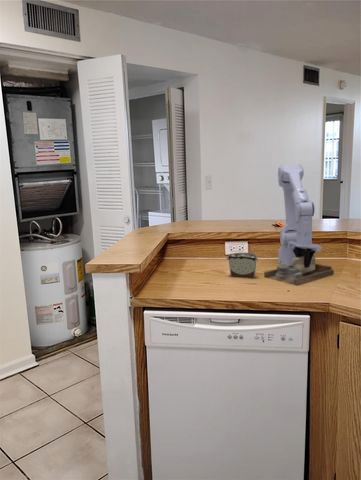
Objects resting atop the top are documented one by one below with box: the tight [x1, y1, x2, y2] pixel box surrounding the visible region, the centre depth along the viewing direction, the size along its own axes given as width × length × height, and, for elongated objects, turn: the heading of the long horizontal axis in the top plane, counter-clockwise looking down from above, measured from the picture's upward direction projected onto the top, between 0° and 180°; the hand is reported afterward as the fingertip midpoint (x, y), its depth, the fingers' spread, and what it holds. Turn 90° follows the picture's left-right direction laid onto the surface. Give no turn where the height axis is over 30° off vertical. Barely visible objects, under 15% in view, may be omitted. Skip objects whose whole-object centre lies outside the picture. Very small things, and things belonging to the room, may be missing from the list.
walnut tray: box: [263, 263, 335, 287], centre depth 162 cm, size 16×22×4 cm
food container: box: [226, 252, 259, 280], centre depth 165 cm, size 12×6×10 cm, turn 65°
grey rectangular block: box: [292, 254, 316, 273], centre depth 163 cm, size 2×11×6 cm, turn 125°
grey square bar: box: [275, 265, 302, 282], centre depth 159 cm, size 10×4×4 cm, turn 35°
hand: (303, 266), depth 164 cm, fingers closed on grey rectangular block, 2 cm apart
